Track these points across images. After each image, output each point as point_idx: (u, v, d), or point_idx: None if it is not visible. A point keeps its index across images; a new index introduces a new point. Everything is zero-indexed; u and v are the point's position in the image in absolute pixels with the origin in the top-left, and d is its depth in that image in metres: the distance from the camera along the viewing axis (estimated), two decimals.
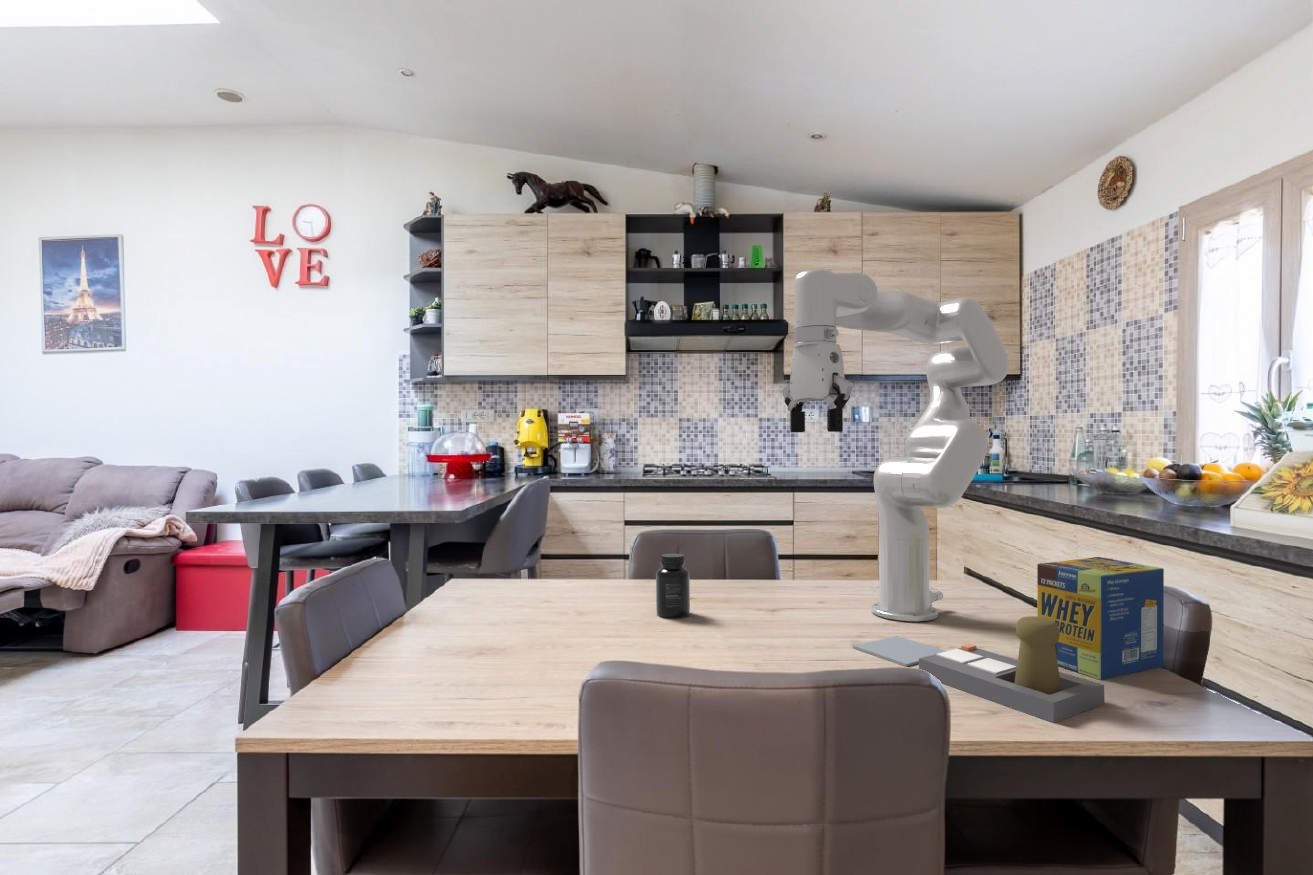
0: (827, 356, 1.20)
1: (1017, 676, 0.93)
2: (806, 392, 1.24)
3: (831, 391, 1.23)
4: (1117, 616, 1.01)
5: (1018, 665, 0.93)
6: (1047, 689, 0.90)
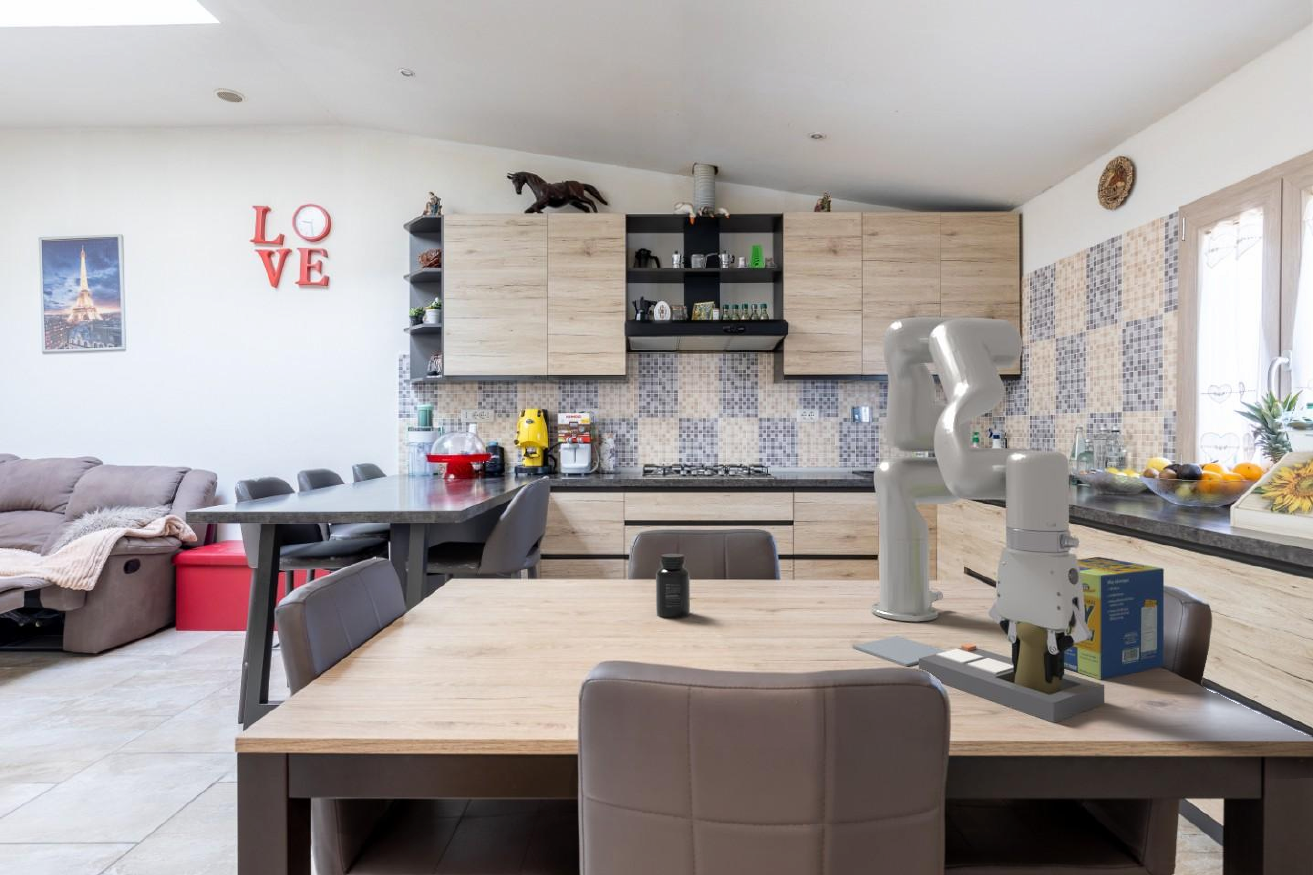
0: (1065, 576, 0.88)
1: (1017, 676, 0.93)
2: (1027, 616, 0.91)
3: None
4: (1117, 616, 1.01)
5: (1018, 665, 0.93)
6: (1046, 689, 0.90)
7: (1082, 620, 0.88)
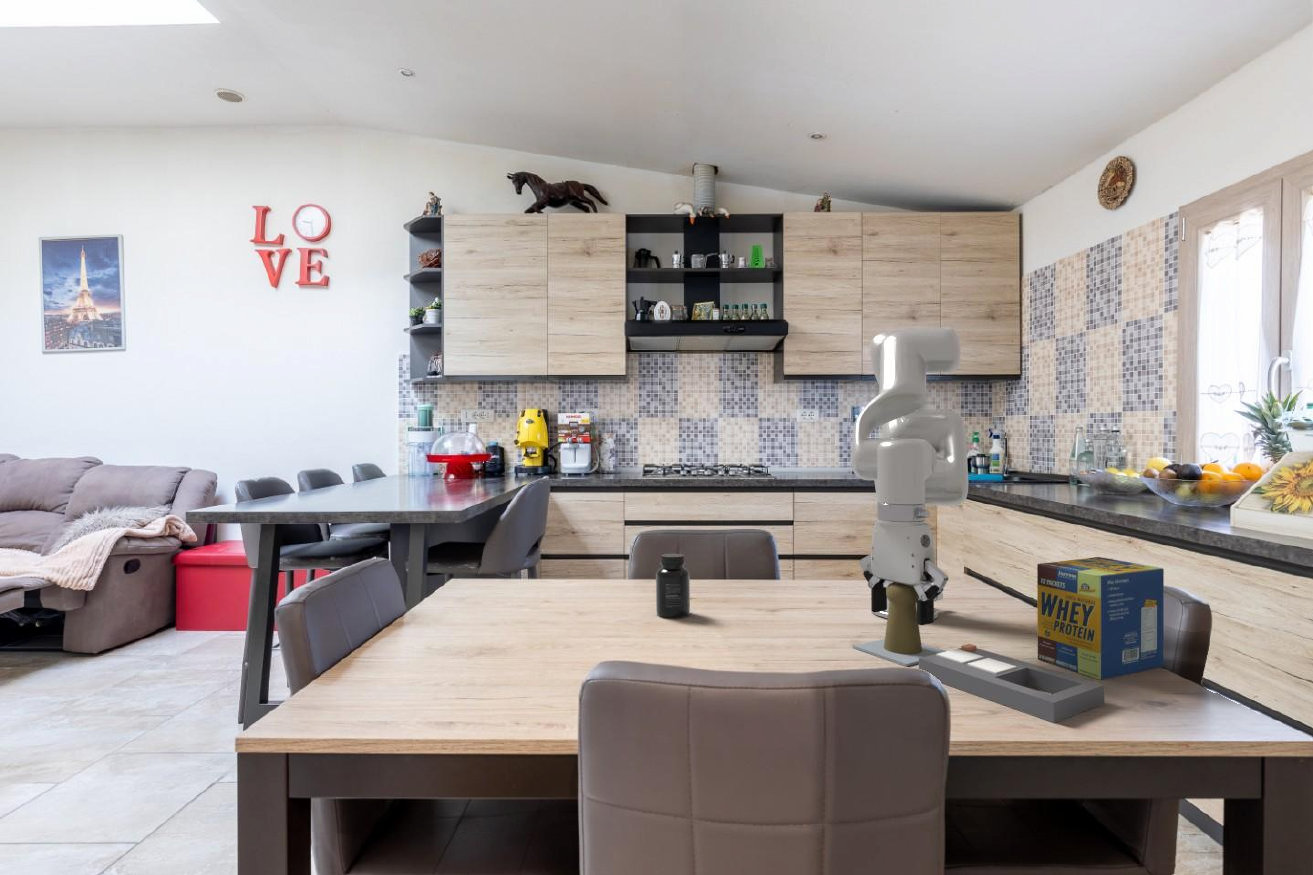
0: (918, 540, 1.09)
1: (886, 630, 1.14)
2: (892, 574, 1.12)
3: None
4: (1117, 616, 1.01)
5: (887, 621, 1.14)
6: (906, 639, 1.11)
7: (937, 568, 1.08)
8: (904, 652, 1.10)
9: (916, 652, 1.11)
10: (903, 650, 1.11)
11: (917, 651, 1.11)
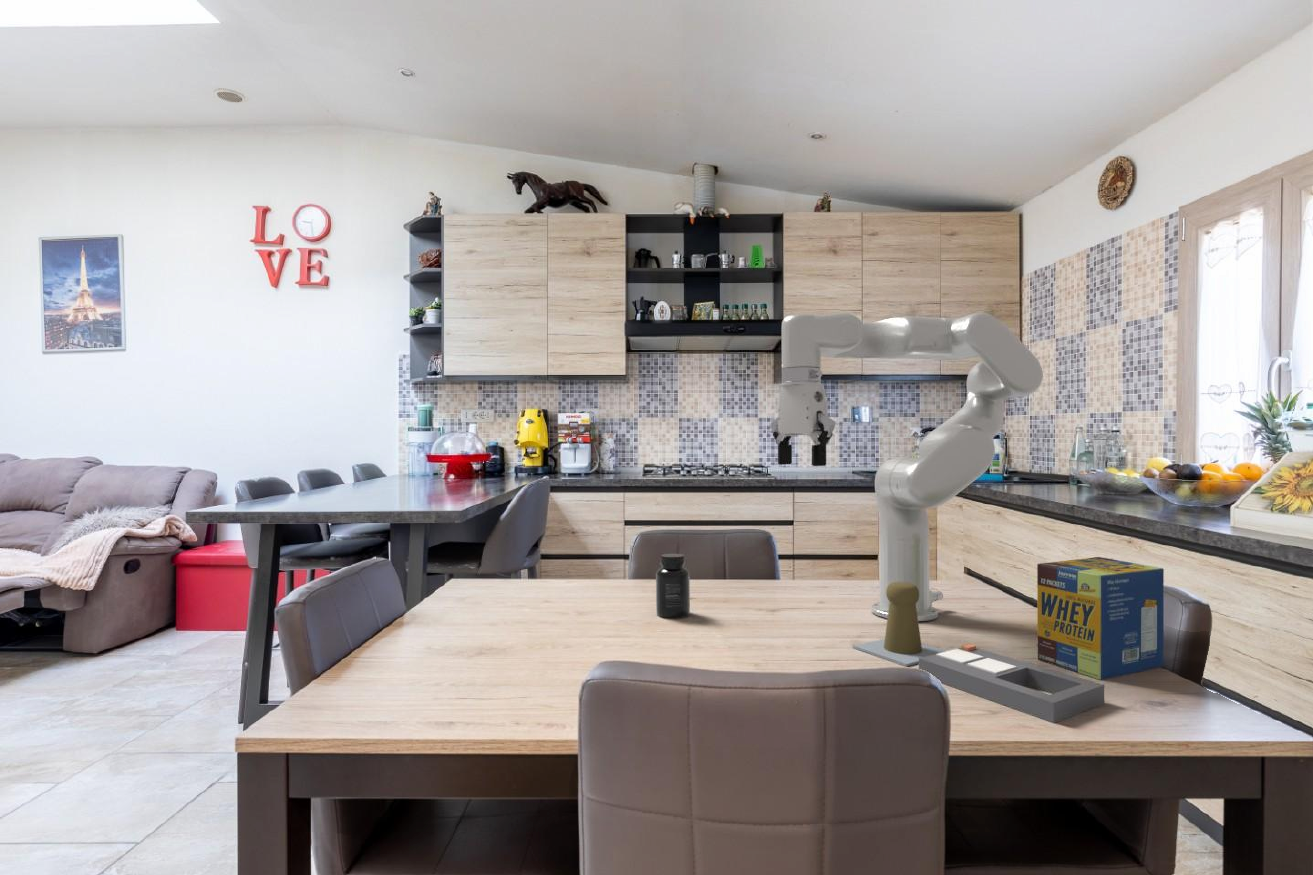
0: (811, 395, 1.29)
1: (886, 630, 1.14)
2: (792, 428, 1.33)
3: (815, 427, 1.32)
4: (1117, 616, 1.01)
5: (887, 621, 1.14)
6: (906, 639, 1.11)
7: (826, 417, 1.28)
8: (904, 652, 1.10)
9: (916, 652, 1.11)
10: (903, 650, 1.11)
11: (917, 651, 1.11)
